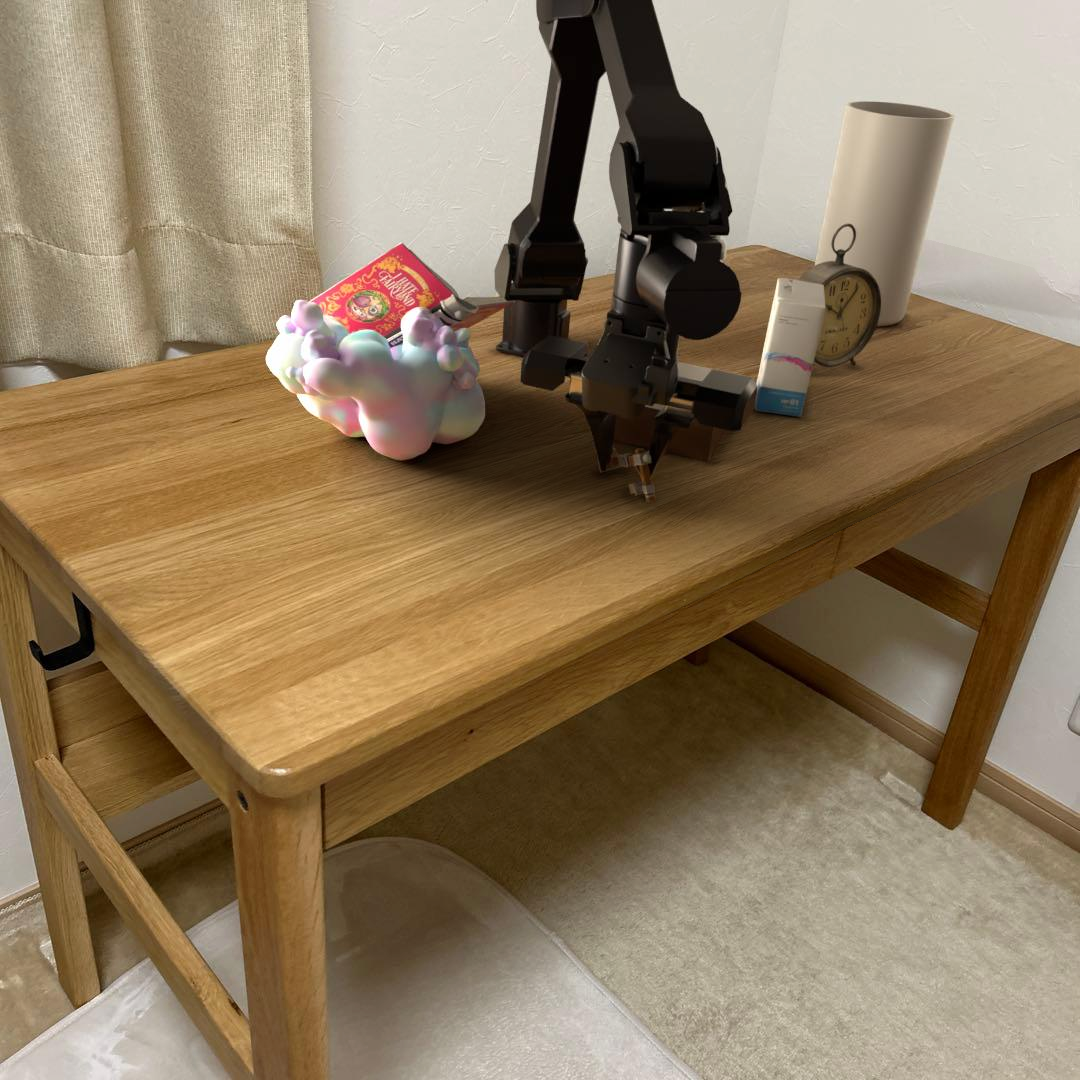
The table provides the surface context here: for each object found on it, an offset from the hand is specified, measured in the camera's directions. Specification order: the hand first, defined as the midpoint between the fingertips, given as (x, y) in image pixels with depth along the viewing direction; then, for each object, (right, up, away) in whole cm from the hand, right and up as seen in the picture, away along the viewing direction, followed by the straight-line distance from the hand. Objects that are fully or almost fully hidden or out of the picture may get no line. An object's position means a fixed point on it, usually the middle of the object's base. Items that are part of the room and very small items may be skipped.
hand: (625, 474), depth 92 cm
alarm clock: (+24, +14, +30) cm, 41 cm away
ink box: (+18, +9, +21) cm, 29 cm away
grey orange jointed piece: (0, -1, +1) cm, 1 cm away
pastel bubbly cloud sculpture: (-22, +5, +9) cm, 24 cm away
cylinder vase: (+34, +24, +49) cm, 64 cm away
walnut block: (+6, +6, +13) cm, 15 cm away
